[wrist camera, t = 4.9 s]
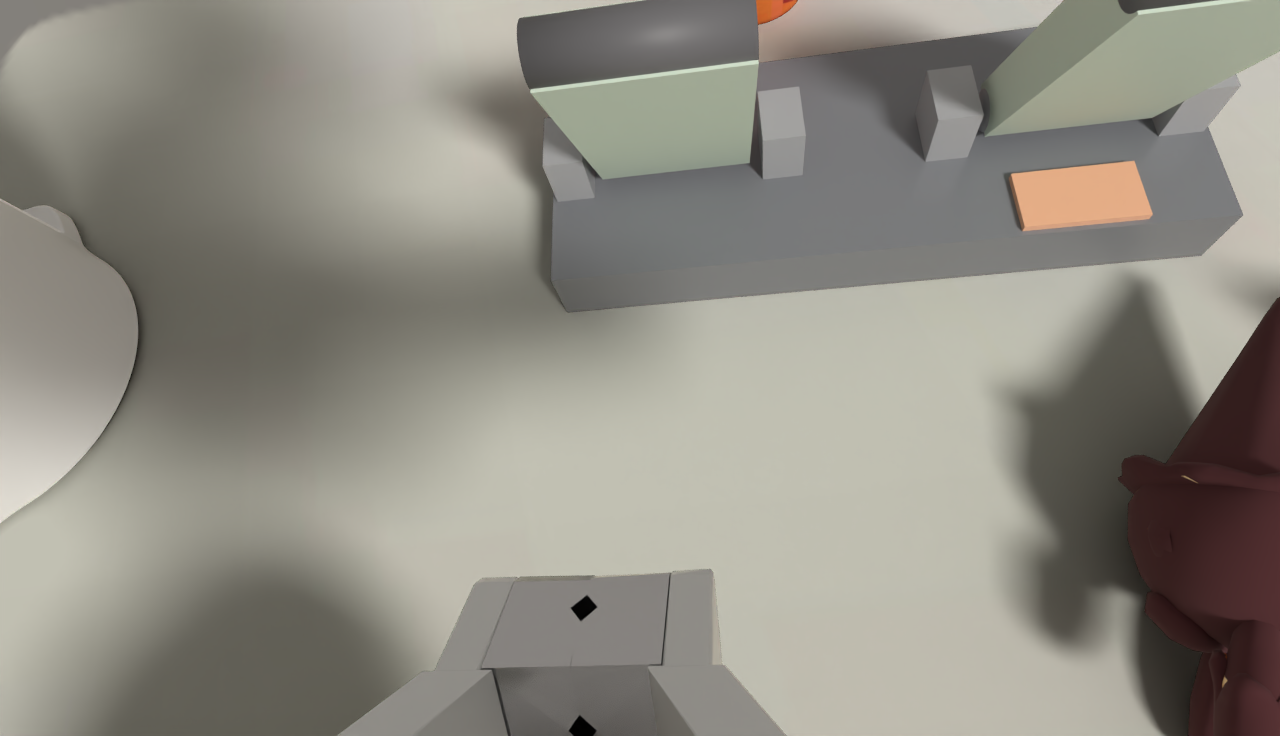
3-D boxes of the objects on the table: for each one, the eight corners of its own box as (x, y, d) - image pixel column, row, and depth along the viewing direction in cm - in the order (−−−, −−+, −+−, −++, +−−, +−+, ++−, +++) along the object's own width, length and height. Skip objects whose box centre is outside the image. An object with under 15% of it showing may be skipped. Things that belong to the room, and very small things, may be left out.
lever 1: (606, 183, 31) (520, 81, 19) (602, 135, 31) (514, 1, 19) (749, 167, 31) (759, 50, 18) (745, 118, 31) (753, -34, 18)
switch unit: (567, 312, 33) (534, 249, 28) (570, 130, 37) (542, 48, 32) (1201, 255, 29) (1285, 173, 25) (1130, 62, 33) (1192, -41, 28)
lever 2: (977, 141, 30) (1159, -3, 17) (974, 91, 29) (1154, -92, 17) (1140, 123, 29) (1457, -41, 16) (1137, 71, 29) (1452, -135, 16)
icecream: (1173, 232, 23) (1083, 726, 20) (1511, 257, 20) (1475, 868, 16) (1138, 323, 29) (1064, 717, 26) (1393, 356, 25) (1348, 819, 22)
